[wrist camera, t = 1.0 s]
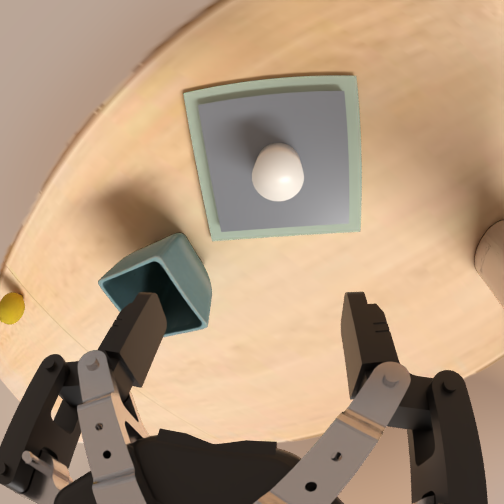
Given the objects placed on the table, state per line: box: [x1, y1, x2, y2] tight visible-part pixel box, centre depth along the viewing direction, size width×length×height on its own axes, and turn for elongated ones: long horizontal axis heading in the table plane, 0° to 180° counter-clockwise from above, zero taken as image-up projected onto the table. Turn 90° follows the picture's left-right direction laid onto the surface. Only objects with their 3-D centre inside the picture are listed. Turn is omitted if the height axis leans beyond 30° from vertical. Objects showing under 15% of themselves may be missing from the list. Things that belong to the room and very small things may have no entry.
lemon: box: [0, 292, 25, 324], centre depth 40 cm, size 6×6×8 cm
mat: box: [183, 76, 362, 241], centre depth 26 cm, size 16×16×1 cm
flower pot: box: [98, 233, 212, 337], centre depth 30 cm, size 9×9×9 cm
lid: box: [198, 91, 349, 232], centre depth 24 cm, size 13×13×5 cm
